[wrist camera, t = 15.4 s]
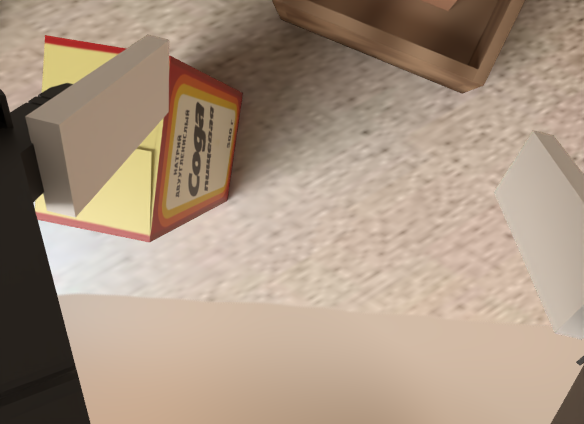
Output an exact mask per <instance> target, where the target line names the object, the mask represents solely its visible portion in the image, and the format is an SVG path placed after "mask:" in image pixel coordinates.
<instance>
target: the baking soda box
mask: <svg viewBox="0 0 584 424" xmlns="http://www.w3.org/2000/svg"><path fill="white" fill-rule="evenodd" d="M124 50H125V48H119V47H113V46H107V45H101V44H95V43H89V42H83V41H77V40H71V39H65V38H59V37H53V36H47V35H45V48H44V65H43V82H42V92H44V91H45V90H47V89H49V88H50V87H54V86H57V85H61V84H64V83H71V84H74V83H76V82H77V81H79V80H80V79H82V78H83V77H85V76H86V75H88V74H89V73H91V72H92V71H94V70H95V69H97V68H98V67H100V66H101V65H103V64H104V63H106V62H107V61H109V60H110V59H112V58H113V57H115V56H116V55H118V54H119V53H121V52H122V51H124ZM242 95H243V93H241V92H240V91H238V90H236V89H234V88H232V87H230V86H228V85H226V84H224V83H222V82H220V81H218V80H216V79H214V78H212V77H210V76H208V75H207V74H205V73H203V72H201V71H199V70H197V69H195V68H193V67H191V66H189V65H187V64H185V63H183V62H181V61H179V60H177V59H175V58H174V57H172V56H169V112H168V113H167V114H166V116H165V117H164V118H163V119H162V120H161V121H160V122H159V124H158V125H157V126H156V127H155V128H154V129H153V130H152V131H151V133H150V134H149V135H148V136H147V137H146V138H145V139H144V141H143V142H142V143H141V144H140V145H139V146H138V147H137V149H136V150H135V151H134V152H133V153H132V154H131V155H130V156H129V158H128V159H127V160H126V161H125V162H124V163H123V164H122V166H121V167H120V168H119V169H118V170H117V171H116V172H115V174H114V175H113V176H112V177H111V178H110V179H109V180H108V181H107V183H106V184H105V185H104V186H103V187H102V188H101V189H100V191H99V192H98V193H97V194H96V195H95V196H94V197H93V199H92V200H91V201H90V202H89V203H88V204H87V205H86V206H85V208H84V209H83V210H82V211H81V212H80V213H79V214H78V216H77V217H76V218H75V217H71V216H67V215H62V214H58V213H54V212H50V211H47V208H46V204H45V199H44V195H43V194H42V195H41V196H40V197H39V198H37V199H36V201H35V212H36V216H37V220H42V221H47V222H52V223H57V224H62V225H67V226H71V227H76V228H81V229H86V230H91V231H96V232H101V233H106V234H111V235H116V236H121V237H126V238H131V239H136V240H141V241H146V242H151V241H153V240H155V239H157V238H159V237H160V236H162V235H164V234H166V233H168V232H170V231H172V230H174V229H175V228H177V227H179V226H181V225H183V224H185V223H187V222H189V221H190V220H192V219H194V218H196V217H198V216H200V215H202V214H203V213H205V212H207V211H209V210H211V209H213V208H215V207H217V206H218V205H220V204H222V203H224V202H226V201H227V198H228V191H229V185H230V178H231V171H232V164H233V157H234V150H235V143H236V137H237V130H238V123H239V116H240V109H241V102H242Z"/></svg>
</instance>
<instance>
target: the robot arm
mask: <svg viewBox="0 0 584 424" xmlns="http://www.w3.org/2000/svg"><path fill="white" fill-rule="evenodd" d="M168 112H169V40H168V39H164V38H160V37H156V36H152V35H146V36H145V37H143V38H142V39H140V40H139V41H137V42H136V43H134V44H133V45H131V46H130V47H128V48H127V49H125V50H124V51H122V52H121V53H119V54H118V55H116V56H115V57H113V58H112V59H110V60H109V61H107V62H106V63H104V64H103V65H101V66H100V67H98V68H97V69H95V70H94V71H92V72H91V73H89V74H88V75H86V76H85V77H83V78H82V79H80V80H79V81H77V82H76V83H74V84H71V83H64V84H61V85H57V86H54V87H50V88H49V89H47V90H45V91H44V92H42V93H41V94H39V95H38V97H34V98H33V99H31V100H29V102H28V103H25V104H23V105H22V106H20V107H18V108H17V109H15V110H14V111H12V112H10V111H9V107H8V104H7V100H6V96H5V94H4V93H3V91H2V90H0V424H90V420H89V416H88V412H87V408H86V405H85V401H84V397H83V393H82V389H81V385H80V381H79V378H78V374H77V370H76V367H75V363H74V359H73V355H72V351H71V347H70V343H69V339H68V336H67V332H66V328H65V324H64V320H63V317H62V313H61V309H60V305H59V301H58V297H57V293H56V289H55V285H54V281H53V278H52V274H51V270H50V266H49V262H48V258H47V254H46V251H45V247H44V243H43V239H42V235H41V231H40V227H39V224H38V220H37V216H36V212H35V208H34V204H33V202H34V201H35V200H36V199H37V198H39V197H40V196H41V195H42V194H43V195H44V199H45V204H46V208H47V211H50V212H54V213H58V214H62V215H67V216H71V217H75V218H76V217H77V216H78V214H79V213H80V212H81V211H82V210H83V209H84V208H85V206H86V205H87V204H88V203H89V202H90V201H91V200H92V199H93V197H94V196H95V195H96V194H97V193H98V192H99V191H100V189H101V188H102V187H103V186H104V185H105V184H106V183H107V181H108V180H109V179H110V178H111V177H112V176H113V175H114V174H115V172H116V171H117V170H118V169H119V168H120V167H121V166H122V164H123V163H124V162H125V161H126V160H127V159H128V158H129V156H130V155H131V154H132V153H133V152H134V151H135V150H136V149H137V147H138V146H139V145H140V144H141V143H142V142H143V141H144V139H145V138H146V137H147V136H148V135H149V134H150V133H151V131H152V130H153V129H154V128H155V127H156V126H157V125H158V124H159V122H160V121H161V120H162V119H163V118H164V117H165V116H166V114H167V113H168ZM494 194H495V196H496V198H497V201H498V203H499V205H500V208H501V210H502V212H503V215H504V217H505V219H506V222H507V224H508V226H509V228H510V231H511V233H512V235H513V238H514V240H515V242H516V245H517V247H518V249H519V252H520V254H521V256H522V259H523V261H524V263H525V266H526V268H527V270H528V273H529V275H530V277H531V280H532V282H533V284H534V287H535V289H536V291H537V293H538V296H539V298H540V300H541V303H542V305H543V307H544V310H545V312H546V314H547V317H548V319H549V321H550V324H551V326H552V328H553V330H554V333H556V334H560V335H564V336H569V337H573V338H577V339H581V340H582V339H583V338H584V174H583V173H582V171H581V170H580V169H579V168H578V166H577V165H576V164H575V162H574V161H573V160H572V159H571V157H570V156H569V155H568V153H567V152H566V151H565V150H564V148H563V147H562V146H561V144H560V143H559V142H558V140H557V139H556V138H555V137H554V136H553V135H549V134H545V133H541V132H537V131H532V132H531V134H530V136H529V137H528V139H527V140H526V142H525V143H524V145H523V147H522V148H521V150H520V151H519V153H518V154H517V156H516V158H515V159H514V161H513V162H512V164H511V166H510V167H509V169H508V170H507V172H506V173H505V175H504V177H503V178H502V180H501V181H500V183H499V184H498V186H497V188H496V189H495V191H494ZM576 363H577V364H579V365H582V364H583V363H584V356H583V357H582V358H580V360H578V361H577V362H576ZM551 424H584V366H583V368H582V369H581V371H580V373H579V375H578V376H577V378H576V380H575V382H574V384H573V385H572V387H571V389H570V391H569V392H568V394H567V396H566V398H565V399H564V402H563V403H562V405H561V407H560V408H559V410H558V412H557V414H556V415H555V417H554V419H553V421H552V423H551Z"/></svg>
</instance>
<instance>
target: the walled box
mask: <svg viewBox="0 0 584 424" xmlns="http://www.w3.org/2000/svg"><path fill="white" fill-rule="evenodd" d="M272 1H273V3H274V6H275V8H276V10H277V12H278V14H279V16H280V19H281V20H284V21H286V22H289V23H291V24H294V25H296V26H299V27H301V28H303V29H306V30H308V31H311V32H313V33H316V34H318V35H320V36H323V37H325V38H328V39H330V40H333V41H335V42H338V43H340V44H342V45H345V46H347V47H350V48H352V49H355V50H357V51H360V52H362V53H364V54H367V55H369V56H372V57H374V58H377V59H379V60H381V61H384V62H386V63H389V64H391V65H394V66H396V67H399V68H401V69H403V70H406V71H408V72H411V73H413V74H416V75H418V76H421V77H423V78H425V79H428V80H430V81H433V82H435V83H438V84H440V85H442V86H445V87H447V88H450V89H452V90H455V91H457V92H460V93H465V92H468V91H470V90H473V89H475V88H478V87H480V86H483V85H484V83H485V81H486V79H487V77H488V75H489V73H490V71H491V69H492V67H493V65H494V63H495V61H496V59H497V57H498V55H499V53H500V51H501V49H502V47H503V44H504V42H505V40H506V38H507V36H508V34H509V32H510V30H511V28H512V26H513V24H514V22H515V20H516V18H517V16H518V14H519V12H520V10H521V7H522V5H523V3H524V1H525V0H457V1H456V2H455V3H454V5H453V6H452V7H451V8H450V9H449V11H446V10H444V9H441V8H439V7H436V6H434V5H431V4H429V3H426V2H424V1H421V0H272Z"/></svg>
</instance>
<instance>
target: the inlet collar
mask: <svg viewBox="0 0 584 424" xmlns="http://www.w3.org/2000/svg"><path fill="white" fill-rule="evenodd" d="M421 1H424V2H426V3H429V4H431V5H434V6H436V7H439V8H441V9H444V10H446V11H449V9H450V8H451V7H452V6H453V5H454V3H455V2H456V1H457V0H421Z"/></svg>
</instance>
